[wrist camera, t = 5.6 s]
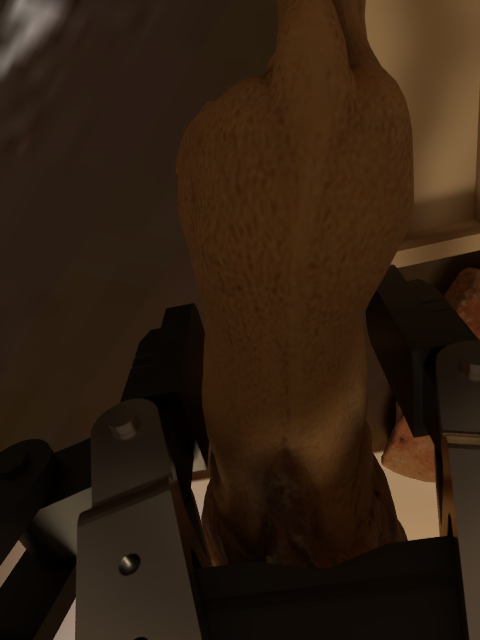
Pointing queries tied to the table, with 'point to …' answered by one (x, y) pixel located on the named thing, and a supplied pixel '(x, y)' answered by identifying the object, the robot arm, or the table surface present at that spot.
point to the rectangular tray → (436, 117)
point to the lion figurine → (296, 288)
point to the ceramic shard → (402, 448)
